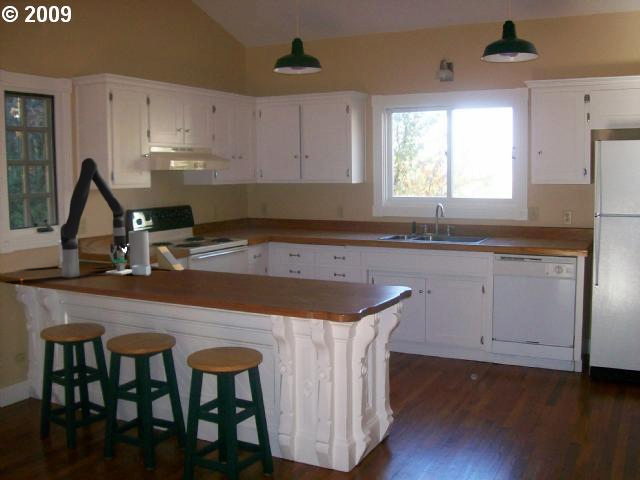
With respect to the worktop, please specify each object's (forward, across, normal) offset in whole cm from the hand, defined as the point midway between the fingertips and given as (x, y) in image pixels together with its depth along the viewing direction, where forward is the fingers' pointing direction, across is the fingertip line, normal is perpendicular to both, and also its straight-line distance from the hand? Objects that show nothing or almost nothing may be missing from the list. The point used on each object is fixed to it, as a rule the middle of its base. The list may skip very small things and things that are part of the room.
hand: (120, 259), depth 435 cm
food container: (+9, -20, +20) cm, 29 cm away
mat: (+9, 0, -1) cm, 9 cm away
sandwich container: (+10, +20, +25) cm, 33 cm away
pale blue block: (+9, +16, 0) cm, 18 cm away
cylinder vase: (+9, -1, +18) cm, 21 cm away
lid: (+8, 0, -1) cm, 8 cm away
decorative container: (+8, -54, +7) cm, 55 cm away
